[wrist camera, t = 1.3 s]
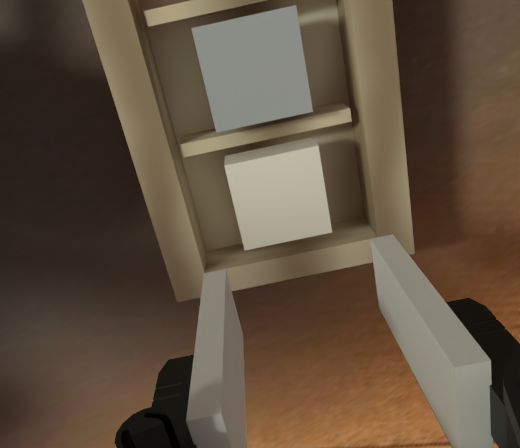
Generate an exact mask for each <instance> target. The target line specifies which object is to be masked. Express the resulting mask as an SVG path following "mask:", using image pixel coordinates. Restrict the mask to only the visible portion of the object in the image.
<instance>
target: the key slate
mask: <svg viewBox="0 0 520 448" xmlns="http://www.w3.org/2000/svg"><path fill="white" fill-rule="evenodd" d="M191 29H192V34H193V38H194V42H195V46H196V50H197V54H198V59H199V63H200V67H201V71H202V75H203V79H204V84H205V88H206V92H207V96H208V100H209V104H210V109H211V113H212V117H213V121H214V125H215V129H216V133H217V132H221V131H226V130H231V129H235V128H240V127H245V126H249V125H254V124H259V123H263V122H268V121H272V120H277V119H282V118H286V117H291V116H296V115H300V114H305V113H310V112H313V108H312V102H311V96H310V89H309V83H308V77H307V71H306V64H305V58H304V52H303V46H302V39H301V33H300V27H299V20H298V14H297V8H296V5H294V6H290V7H285V8H280V9H276V10H271V11H267V12H262V13H258V14H253V15H249V16H244V17H240V18H235V19H231V20H226V21H222V22H217V23H213V24H208V25H204V26H199V27H195V28H191Z"/></svg>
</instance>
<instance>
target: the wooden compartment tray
mask: <svg viewBox="0 0 520 448" xmlns="http://www.w3.org/2000/svg"><path fill="white" fill-rule="evenodd" d="M82 1H83V4H84V7H85V10H86V14H87V17H88V20H89V23H90V26H91V29H92V33H93V36H94V39H95V42H96V45H97V49H98V52H99V55H100V58H101V61H102V64H103V68H104V71H105V74H106V77H107V80H108V84H109V87H110V90H111V93H112V96H113V99H114V103H115V106H116V109H117V112H118V115H119V119H120V122H121V125H122V128H123V131H124V134H125V138H126V141H127V144H128V147H129V150H130V154H131V157H132V160H133V163H134V166H135V170H136V173H137V176H138V179H139V182H140V185H141V189H142V192H143V195H144V198H145V201H146V205H147V208H148V211H149V214H150V217H151V220H152V224H153V227H154V230H155V233H156V236H157V240H158V243H159V246H160V249H161V252H162V255H163V259H164V262H165V265H166V268H167V271H168V275H169V278H170V281H171V284H172V287H173V290H174V294H175V297H176V300H177V302H182V301H187V300H192V299H197V298H201V292H202V283H203V275H204V273H208V272H213V271H218V270H222V269H226V272H227V275H228V279H229V283H230V287H231V291H236V290H241V289H246V288H250V287H255V286H260V285H265V284H270V283H275V282H280V281H285V280H289V279H294V278H299V277H304V276H309V275H314V274H319V273H324V272H328V271H333V270H338V269H343V268H348V267H353V266H358V265H362V264H367V263H372V262H373V257H372V249H371V241H370V239H372V238H377V237H382V236H387V235H392V234H393V235H394V236H395V238H396V239H397V240H398V242H399V243H400V244H401V245H402V247H403V248H404V249H405V251H406V252H407V253H408V254H409V255H411V254H415V250H414V239H413V228H412V216H411V205H410V194H409V183H408V171H407V160H406V149H405V138H404V126H403V115H402V104H401V93H400V81H399V70H398V59H397V48H396V36H395V25H394V14H393V3H392V0H82ZM294 5H296V8H297V14H298V20H299V27H300V33H301V39H302V46H303V52H304V58H305V64H306V71H307V77H308V83H309V89H310V96H311V102H312V108H313V112H310V113H305V114H300V115H296V116H291V117H286V118H282V119H277V120H272V121H268V122H263V123H259V124H254V125H249V126H245V127H240V128H235V129H231V130H226V131H221V132H217V133H216V129H215V125H214V121H213V117H212V113H211V109H210V104H209V100H208V96H207V92H206V88H205V84H204V79H203V75H202V71H201V67H200V63H199V59H198V54H197V50H196V46H195V42H194V38H193V34H192V29H191V28H195V27H199V26H204V25H208V24H213V23H217V22H222V21H226V20H231V19H235V18H240V17H244V16H249V15H253V14H258V13H262V12H267V11H271V10H276V9H280V8H285V7H290V6H294ZM311 137H312V138H313V139H314V140H315V142H316V143H317V144H318V146H319V152H320V158H321V165H322V171H323V177H324V184H325V190H326V196H327V202H328V209H329V215H330V221H331V227H332V232H331V233H327V234H322V235H317V236H312V237H307V238H303V239H298V240H293V241H288V242H283V243H279V244H274V245H269V246H264V247H259V248H254V249H250V250H244V246H243V242H242V238H241V234H240V229H239V225H238V221H237V217H236V213H235V209H234V204H233V200H232V196H231V192H230V188H229V184H228V179H227V175H226V171H225V167H224V161H225V156H227V155H232V154H237V153H241V152H246V151H251V150H255V149H260V148H265V147H269V146H274V145H279V144H283V143H288V142H293V141H297V140H302V139H307V138H311Z"/></svg>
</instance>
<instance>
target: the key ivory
mask: <svg viewBox="0 0 520 448" xmlns="http://www.w3.org/2000/svg"><path fill="white" fill-rule="evenodd" d="M224 167H225V171H226V175H227V179H228V184H229V188H230V192H231V196H232V200H233V204H234V209H235V213H236V217H237V221H238V225H239V229H240V234H241V238H242V242H243V246H244V250H250V249H254V248H259V247H264V246H269V245H274V244H279V243H283V242H288V241H293V240H298V239H303V238H307V237H312V236H317V235H322V234H327V233H331V232H332V227H331V221H330V215H329V209H328V202H327V196H326V190H325V184H324V177H323V171H322V165H321V158H320V152H319V146H318V144H317V143H316V142H315V140H314V139H313V138H312V137H311V138H307V139H302V140H297V141H293V142H288V143H283V144H279V145H274V146H269V147H265V148H260V149H255V150H251V151H246V152H241V153H237V154H232V155H227V156H225V161H224Z"/></svg>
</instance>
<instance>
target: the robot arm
mask: <svg viewBox="0 0 520 448" xmlns="http://www.w3.org/2000/svg"><path fill="white" fill-rule="evenodd" d="M370 241H371V249H372V257H373V264H374V272H375V280H376V288H377V296H378V304H379V309H380V311H381V313H382V314H383V316H384V318H385V320H386V322H387V324H388V326H389V328H390V330H391V332H392V334H393V335H394V337H395V339H396V341H397V343H398V345H399V347H400V349H401V351H402V353H403V355H404V356H405V358H406V360H407V362H408V364H409V366H410V368H411V370H412V372H413V374H414V376H415V377H416V379H417V381H418V383H419V385H420V387H421V389H422V391H423V393H424V395H425V397H426V398H427V400H428V402H429V404H430V406H431V408H432V410H433V412H434V414H435V416H436V418H437V419H438V421H439V423H440V425H441V427H442V429H443V431H444V433H445V435H446V437H447V439H448V440H449V442H450V444H451V446H452V448H493V439H494V441H495V442H496V444H497V445H498V447H499V448H520V344H519V343H518V341H517V340H516V339H515V338H514V337H513V336H512V335H511V334H510V333H509V332H508V330H505V327H504V326H503V325H502V324H501V323H500V322H499V321H498V320H496V317H495V316H494V315H493V314H492V313H491V312H490V311H489V310H488V309H487V307H486V306H484V305H482V304H480V303H478V302H476V301H474V300H472V299H470V298H466V299H461V300H456V301H451V302H445V301H444V299H443V298H442V297H441V296H440V294H439V293H438V292H437V290H436V289H435V288H434V287H433V285H432V284H431V283H430V281H429V280H428V279H427V278H426V276H425V275H424V274H423V272H422V271H421V270H420V269H419V267H418V266H417V265H416V263H415V262H414V261H413V260H412V258H411V257H410V256H409V254H408V253H407V252H406V251H405V249H404V248H403V247H402V245H401V244H400V243H399V242H398V240H397V239H396V238H395V236H394V235H393V234H392V235H387V236H382V237H377V238H372V239H370ZM153 400H154V402H153V403H152V407H151V408H146V409H143V410H141V411H139V412H137V413H135V414H133V415H132V416H131V417H129V418H128V419H127V420H126V421H125V422H124V423H123V424H122V425H121V427H120V428H119V430H118V431H117V433H116V438H115V444H116V447H117V448H247V438H246V407H245V377H244V347H243V333H242V329H241V325H240V321H239V318H238V314H237V310H236V306H235V302H234V298H233V295H232V291H231V287H230V283H229V279H228V275H227V272H226V269H222V270H218V271H213V272H208V273H204V275H203V283H202V292H201V300H200V308H199V317H198V325H197V333H196V342H195V350H194V355H190V356H185V357H180V358H175V359H170V360H168V361H167V363H166V364H165V365H164V367H163V368H162V370H161V371H160V372H159V375H158V379H157V384H156V390H155V393H154V398H153Z"/></svg>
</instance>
